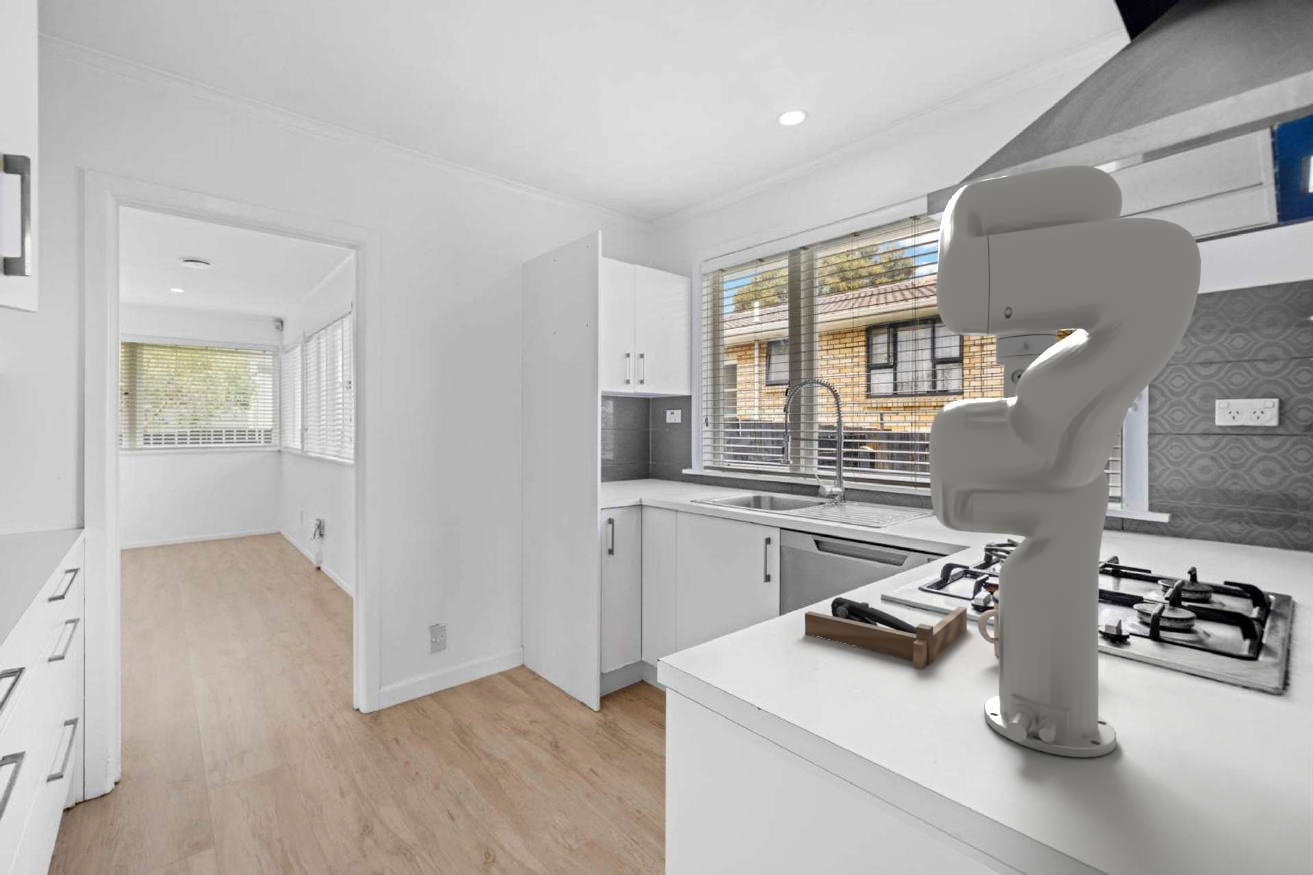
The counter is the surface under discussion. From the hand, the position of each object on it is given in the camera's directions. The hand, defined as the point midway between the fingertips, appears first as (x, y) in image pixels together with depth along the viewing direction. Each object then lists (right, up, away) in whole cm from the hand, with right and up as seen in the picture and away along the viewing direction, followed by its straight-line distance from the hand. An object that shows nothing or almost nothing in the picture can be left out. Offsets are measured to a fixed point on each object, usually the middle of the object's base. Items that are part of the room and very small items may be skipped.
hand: (1026, 478), depth 86 cm
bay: (-16, -27, +14) cm, 34 cm away
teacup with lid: (0, -27, +2) cm, 27 cm away
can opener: (-17, -27, +11) cm, 34 cm away
